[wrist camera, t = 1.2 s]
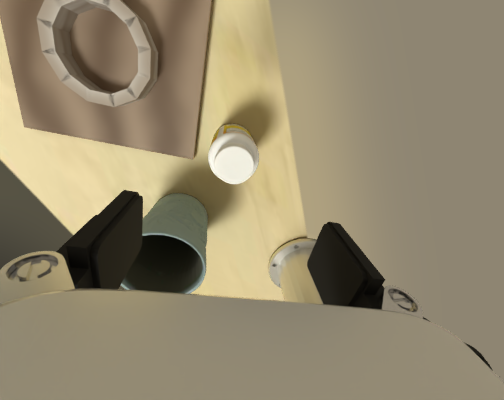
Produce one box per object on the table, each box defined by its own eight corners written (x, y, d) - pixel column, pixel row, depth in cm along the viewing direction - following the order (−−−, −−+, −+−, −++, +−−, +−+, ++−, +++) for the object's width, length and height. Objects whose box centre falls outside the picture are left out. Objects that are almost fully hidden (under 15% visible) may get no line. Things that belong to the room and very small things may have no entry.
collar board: (215, -31, 22) (213, -52, 19) (194, 157, 31) (190, 165, 27) (-16, -112, 19) (-69, -155, 15) (32, 125, 27) (5, 130, 24)
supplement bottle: (224, 168, 32) (221, 200, 23) (205, 133, 29) (194, 153, 20) (258, 152, 31) (270, 178, 22) (242, 115, 29) (248, 127, 20)
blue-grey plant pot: (150, 239, 36) (117, 301, 26) (145, 183, 32) (102, 230, 21) (211, 242, 38) (204, 301, 27) (214, 189, 33) (207, 236, 23)
